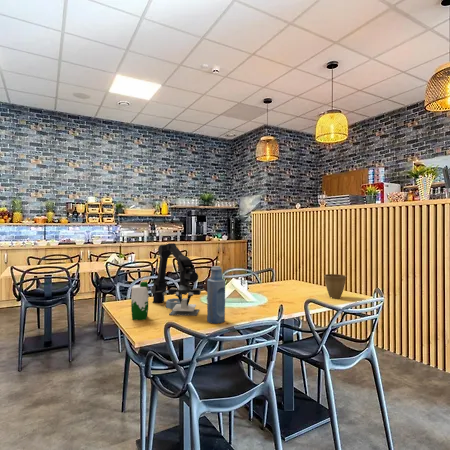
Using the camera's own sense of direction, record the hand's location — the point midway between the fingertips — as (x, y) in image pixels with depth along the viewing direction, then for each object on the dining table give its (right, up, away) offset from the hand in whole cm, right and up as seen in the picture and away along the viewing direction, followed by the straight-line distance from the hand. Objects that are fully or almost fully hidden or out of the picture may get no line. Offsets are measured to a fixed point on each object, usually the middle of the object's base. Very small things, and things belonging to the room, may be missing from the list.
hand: (184, 305), depth 199 cm
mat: (0, -4, 0) cm, 4 cm away
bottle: (+19, -5, -17) cm, 26 cm away
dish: (-7, -4, +13) cm, 16 cm away
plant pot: (+103, -4, +42) cm, 111 cm away
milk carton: (-24, -4, -12) cm, 27 cm away
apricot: (-7, -2, +13) cm, 15 cm away
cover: (0, -2, 0) cm, 2 cm away
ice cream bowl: (+14, -4, +36) cm, 39 cm away
